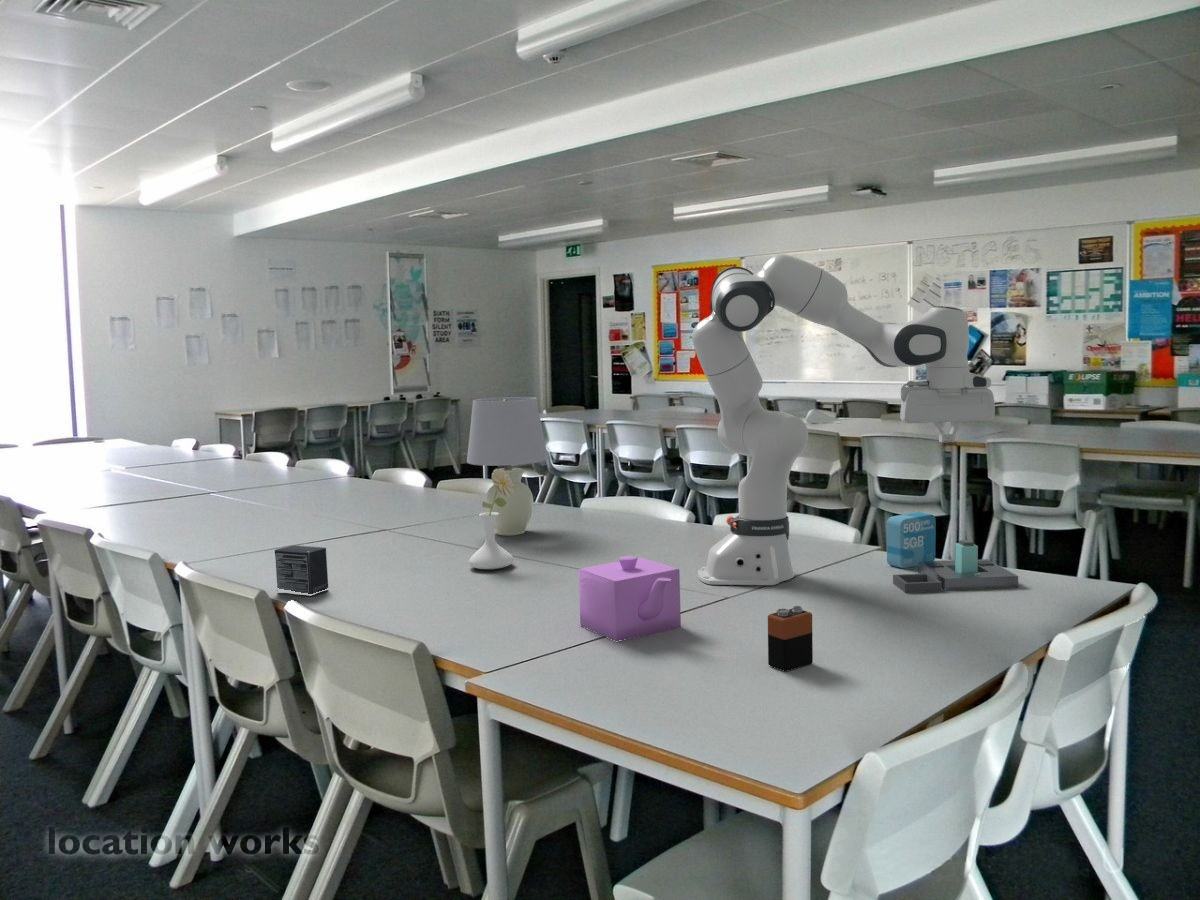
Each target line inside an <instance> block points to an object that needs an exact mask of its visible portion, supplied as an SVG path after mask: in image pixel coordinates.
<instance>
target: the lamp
mask: <svg viewBox="0 0 1200 900" xmlns="http://www.w3.org/2000/svg"><path fill="white" fill-rule="evenodd" d="M538 404H539V403H538V398H537V397H533V396H531V397H530V396H528V397H527V396H524V397H523V396H516V397H514V396H513V397H492V398H491V397H490V398H479V399H478V398H477V399H474V400H472V407H471V417H470V418H471V419H470V427H469V428H470V430H469V438H468V449H467V458H466V462H467V464H469V465H473V466H485V467H486V466H491V467H493V466H497V467H501V466H504V467H501V468H497V469H498V471H499V470H500V469H502V470H503V471H504V472H505V475H509V476H510V480H512V483H513V484H514V487H513V489H514V491H513V492H514V493H513V494H512V493H510V494H511V497H509V496H508V497H507V496H503V495H500V494H499V492H498V491H497V494H496V498H495V500H496V499H497V498H498V497H500V498H502V499H504V500H505V501H506V505H504V506H503V507H499V506H498V505H497V504H496V503H495V502H494V505H493V508H492V511H491V512H497V513H499V515H498V516H497V518H496V521H495V528H494V531H495V533H496V534H497V535H498V536H507V537H509V536H511V537H512V536H519V535H523V534H525V533H526V529H527V527H528V525H529V523H530V520H531V517H532V513H533V508H534V495H533V493H532V490H531V489H530V487H529V486H528V485H526V484H525V483H524V482H522V478H523V474H524V472H525V471H524V469H523V468H521V467H512V466H517V465H528V464H529V465H530V464H536V463H541V462H542V463H543V462H545V461H547V460H548V459H549V457H548V452H547V446H546V441H545V435H544V430H543V425H542V420H541V414H540V410H539V405H538ZM494 470H495V469H493V470H492V473H494ZM495 493H496V488H494V484H493V485H491V486H490V488H489V489H488V490H487V493H486V495H485V502H486V503H488V504H493V501H494V496H495ZM490 510H491V508H486V511H487V512H490ZM496 534H495V535H496Z"/></svg>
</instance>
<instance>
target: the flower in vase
mask: <svg viewBox="0 0 1200 900" xmlns="http://www.w3.org/2000/svg"><path fill="white" fill-rule="evenodd" d="M498 469H499V468H495V469H493V470H494V473H493V472H492V473H491V480H492V481H491V482H492V484H493V485H494V488H496V493H495V496H494V501H493V504H488V503H486V501H482V505H481V507H482V508H485V509H487V508H491V510H490V512H481V513H479V514H478V515H479V517H480V518H481V520H482V523H483V525H484V531H485V541H484V544H482V546H481V547H480V548H479V549H478V550H476V552H474V553H473V554H472V555H471V557H470V558H469V559H468V564H469V565H470V566H471V567H472V568H475V569H478V570H497V569H503V568H506V567H508V566H510V565H512V564H513V562H514V561H515V560H514V557H513V555H512V554H511V553H509V552H508V551H507V550H506V549H505V548H503V547H502V546H501V545H499V544H498V543H497V541H496V537H495V535H496V534H495V521H496V518H497V516H498V515H499V513H497V512H491V511H492V508H493V505H494V502H495V503H496V504H497V505H498V506H499V507H503V506H504V505H506V501H505V500H504V499H502V498H500V497H498V498H497V499H496V500H495V498H496V494H497V491H498V492H499V494H500V495H503V496H507V497H508V496H509V497H511V494H510V493H512V494H513V493H514V492H513V491H514V489H513V487H514V484H513V483H512V480H510V476H509V475H505V472H504V471H503V470H502V469H500V470H499V471H498Z"/></svg>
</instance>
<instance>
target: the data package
mask: <svg viewBox="0 0 1200 900" xmlns="http://www.w3.org/2000/svg"><path fill="white" fill-rule="evenodd" d="M936 527H937V526H936V517H935V515H934V514H930V513H925V512H919V511H917V512H916V511H915V512H911V513H904V514H899V515H893V516H890V517H889V518H888V519H887V521H886V562H887V565H889V566H892V567H896V568H900V569H909V568H915V567H919V562H924V561H936V560H935V559H936Z"/></svg>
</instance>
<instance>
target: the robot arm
mask: <svg viewBox="0 0 1200 900" xmlns="http://www.w3.org/2000/svg"><path fill="white" fill-rule="evenodd" d="M848 300H849V299H848V291H847V287H846V285H845V284H844V283H843V282H842V281H841V280H839V279H838V278H837V277H835V276H834V275H833V274H832V273H830V272H828V271H826V270H824V269H822V268H820V267H818V266H817V265H815V264H813V263H810V262H808V261H805V260H803V259H800V258H798V257H794V256H791V255H788V254H784V253H780V254H779V253H778V254H775V255H773V256H771V257H770V258H769V259H767V260H766V262H765V263H764V264H763V266H762V267H761V269H760V270H759V271H758V272H756V273H753V272H752V271H750V270H749V269H748V268H745V267H741V266H730V267H727V268H725V269H723V270H721V271H720V272H719V273H718V274H717V275H716V277H715V279H714V280H713V283H712V286H711V293H710V304H709V305H710V306H709V309H710V312H711V314H710V315H708V316H707V317H705V318H704V319H702V320H700V321H699V322H698V323H697V324H696V325H695V326H694V329H693V331H692V333H691V338H692V344H693V347H694V350H695V353H696V357H697V359H698V361H699V364H700V367H701V368H702V371H703V373H704V375H705V377H706V379H707V381H708V383H709V385H710V387H711V390H712V392H713V394H714V396H715V398H716V400H717V404H718V406H719V410H720V420H719V423H718V426H717V438H718V441H719V443H720V444H721V445H722V447H724V448H725V449H727V450H729V451H731V452H732V453H735V454H738V455H742V456H747V457H751V460H750V461H751V462H750V465H749V469H748V472H747V474H746V476H744V477H743V478H742V479H741V480H740V481H739V482H738V488H737V489H738V515H737V516H736V517H733V516H732V515H728V516H727V517H726V519H725V521H726V524H727V525H728V526H729V529H730V532H729V533H728V534H727V535H726V536H724V537H723V538H721V539H720V540H719V541H717V542H716V544H714V545H712V546H711V547H710V549H709V551H708V553H707V554H708V555H707V559H706V564H705V565H706V566H702V567H700V568H699V569H698V570H697V578H698V580H700V581H701V582H702V583H705V584H708V585H714V586H716V585H723V586H724V585H727V586H728V585H729V586H730V585H732V586H734V585H735V586H736V585H737V586H738V585H739V586H775V585H777V584H779V583H781V582H784V581H785V582H786V581H788V580H791V579H793V578H794V577H795V572H794V569H793V566H792V561H791V555H790V549H789V547H790V546H789V540H790V539H789V538H790V520H789V516H787V515H788V514H787V511H788V509H787V506H788V504H787V503H788V501H787V498H788V483H789V481H788V480H789V477H790V473H791V471H792V467H793V465H794V463H795V462H796V460H797V459H798V457H800V455H802V454H803V453H804V451H805V450H806V448H807V446H808V442H809V430H808V427H807V425H806V423H805V421H803V419H801V418H800V417H799V416H796V415H793V414H791V413H789V412H786V411H780V410H779V411H776V410H767V409H764V408H763V406H762V404H761V402H760V397H759V393H760V391H761V390H762V387H763V383H764V382H763V377H762V375H761V373H760V371H759V369H758V367H757V366H756V363H755V361H754V358H753V356H752V355H751V353H750V350H749V349H748V346H747V344H746V341H745V340H744V337H743V332H747V331H748V332H749V331H750V330H752V329H754V328H755V327H756V326H758V325H759V324H760V323H762V321H763V320H764V319H765V318H766V317H767V316H768V315H769V314H770V313H772V311H773V310H774V309H775V307H780V308H782V309H785V310H787V311H788V312H790V313H792V314H794V315H796V316H798V317H799V318H802V319H804V320H807V321H808V322H812V323H813V324H817V325H819V326H825V327H827V328H830V329H833V330H835V331H837V332H838V333H841V334H842V335H844V336H846V337H848V338H849V339H852V340H853V341H854V342H856V343H858V344H859V345H861V346H862V347H864V348H865V350H866V351H867V352H868V354H870V356H871V357H872V358H873V360H874V361H875V362H877V363H878V364H879V365H881V366H883V367H886V368H896V367H903V368H905V367H907V368H909V367H912V368H913V367H915V368H916V367H919V366H922V365H925V364H926V377H925V379H926V380H921V381H920V380H919V381H918V380H917V381H914V380H913V381H906V383H905V384H903V385H902V386H901V388H900V399H901V406H900V412H899V413H900V414H899V416H900V417H899V418H900V420H901V421H902V422H903V423H905V424H925V423H927V424H928V423H933V427H934V429H935V430H936V433H938V442H939V443H955V439H956V437H955V436H956V434H957V432H958V431H959V429H960V427H961V422H980V421H981V422H982V421H984V422H986V421H987V422H988V421H993V418H994V417H995V416H996V413H995V412H996V405H995V403H996V402H995V395H994V393H993V391H992V390H991V389H990V387H991V386H992V379H991V378H990V377H988V376H987V377H986V376H983V375H980V374H977V373H974V372H970V368H969V367H970V365H969V361H968V352H969V350H970V331H969V329H970V327H969V322H968V321H969V320H968V316H967V313H966V312H965V311H964V310H963V309H960V308H957V307H953V306H942V305H940V306H939V305H938V306H937V305H936V306H931V308H930V309H929V310H927V311H926V312H925V313H924V314H922V315H920V316H919V317H917V318H914V319H913V320H910V321H908V322H906V323H905V322H903V323H896V322H895V323H894V322H881V321H878V320H876V319H874V318H873V317H871V316H869V315H867V314H866V313H864V312H862V311H861V310H859V309H857V308H855V307H854V306H853V305H851V303H849V301H848ZM945 423H949V424H950V426H951V429H950V431H949V432H948V433H945V432H944V430H943V428H944V424H945Z"/></svg>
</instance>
